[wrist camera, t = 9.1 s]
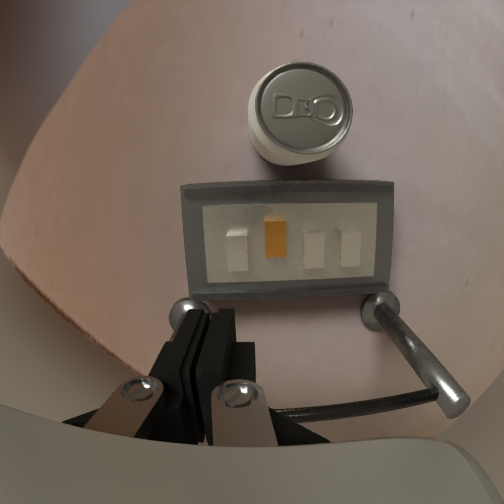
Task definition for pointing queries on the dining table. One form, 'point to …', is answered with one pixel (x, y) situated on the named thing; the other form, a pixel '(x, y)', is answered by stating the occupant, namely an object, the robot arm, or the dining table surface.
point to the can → (299, 114)
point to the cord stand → (412, 348)
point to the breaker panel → (287, 238)
